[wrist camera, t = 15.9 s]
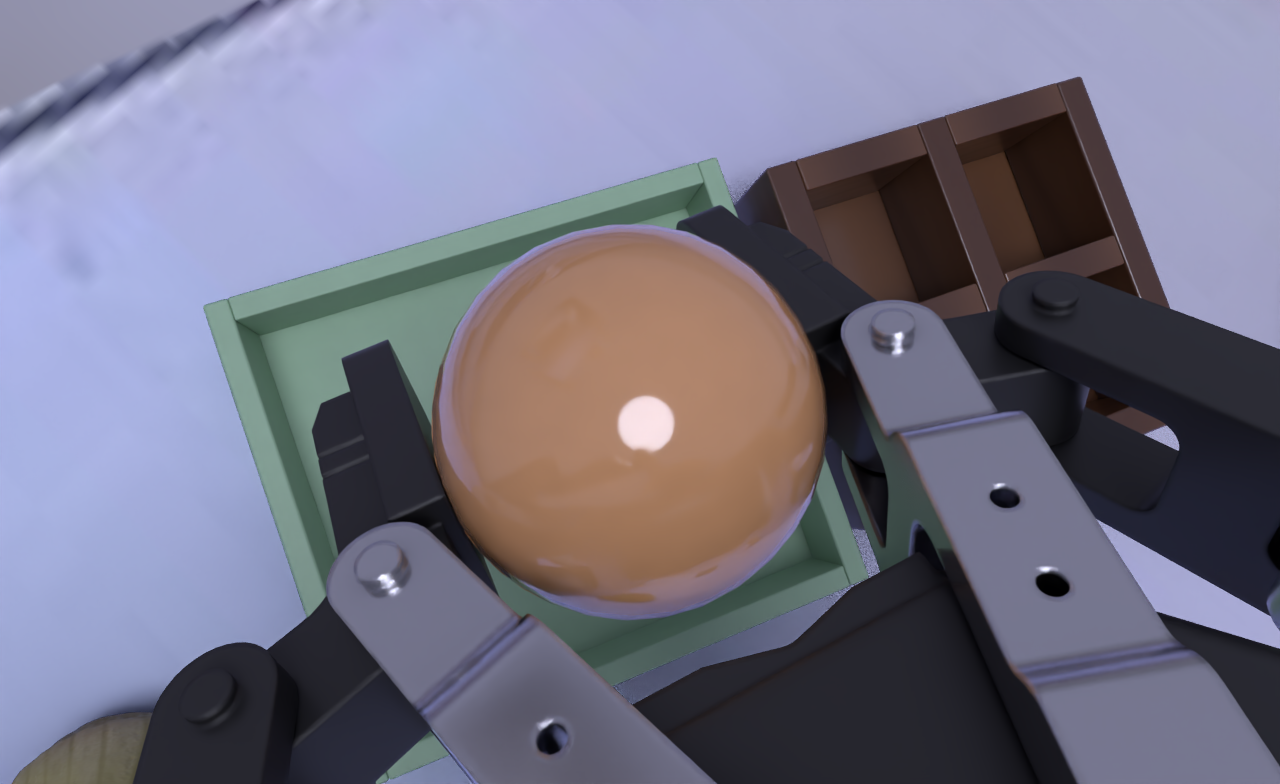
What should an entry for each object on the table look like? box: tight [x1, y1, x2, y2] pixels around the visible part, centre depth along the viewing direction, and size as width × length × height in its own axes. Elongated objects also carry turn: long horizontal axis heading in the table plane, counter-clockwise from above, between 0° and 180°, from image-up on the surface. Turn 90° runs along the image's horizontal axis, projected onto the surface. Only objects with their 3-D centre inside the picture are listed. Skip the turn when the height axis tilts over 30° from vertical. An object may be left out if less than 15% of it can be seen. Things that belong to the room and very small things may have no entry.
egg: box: [432, 225, 828, 620], centre depth 12 cm, size 5×5×8 cm
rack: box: [734, 77, 1170, 530], centre depth 24 cm, size 10×10×4 cm
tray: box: [203, 158, 869, 784], centre depth 22 cm, size 14×12×3 cm
